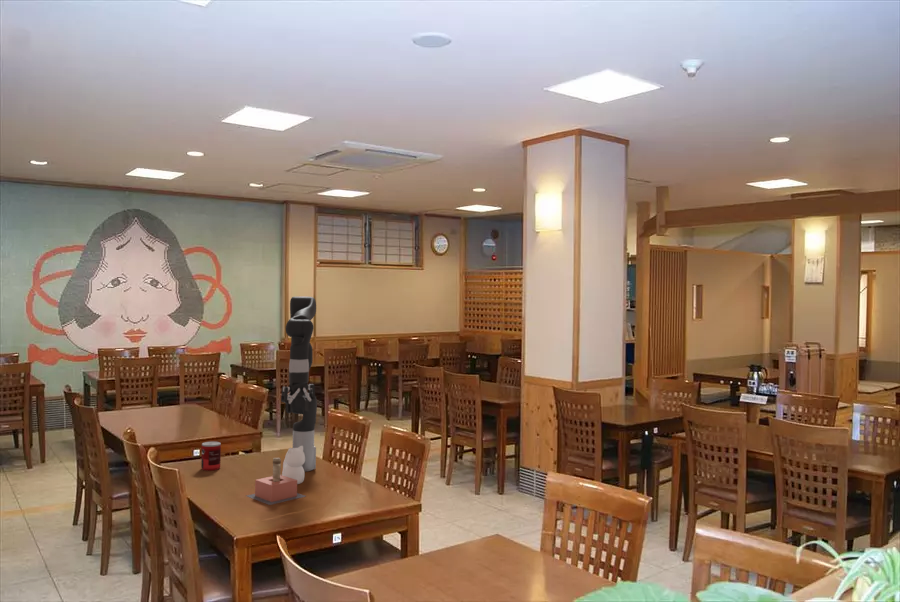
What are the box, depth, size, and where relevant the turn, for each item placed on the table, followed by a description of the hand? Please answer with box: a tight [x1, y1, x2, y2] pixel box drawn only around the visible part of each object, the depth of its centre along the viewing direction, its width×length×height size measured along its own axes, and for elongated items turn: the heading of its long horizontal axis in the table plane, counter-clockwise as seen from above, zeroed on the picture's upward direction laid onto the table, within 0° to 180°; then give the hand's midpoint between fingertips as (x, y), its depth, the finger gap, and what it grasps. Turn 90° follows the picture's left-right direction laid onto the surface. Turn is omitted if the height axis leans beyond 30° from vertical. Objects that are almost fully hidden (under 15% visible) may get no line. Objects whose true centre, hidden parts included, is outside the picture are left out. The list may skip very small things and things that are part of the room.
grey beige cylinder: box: [272, 457, 282, 482], centre depth 261 cm, size 3×3×14 cm
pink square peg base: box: [254, 474, 298, 502], centre depth 261 cm, size 11×11×6 cm
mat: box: [246, 492, 307, 506], centre depth 261 cm, size 16×16×1 cm
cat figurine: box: [281, 446, 305, 485], centre depth 281 cm, size 9×12×15 cm
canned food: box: [200, 441, 222, 472], centre depth 302 cm, size 8×8×11 cm
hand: (298, 412), depth 272 cm, fingers open, 8 cm apart
